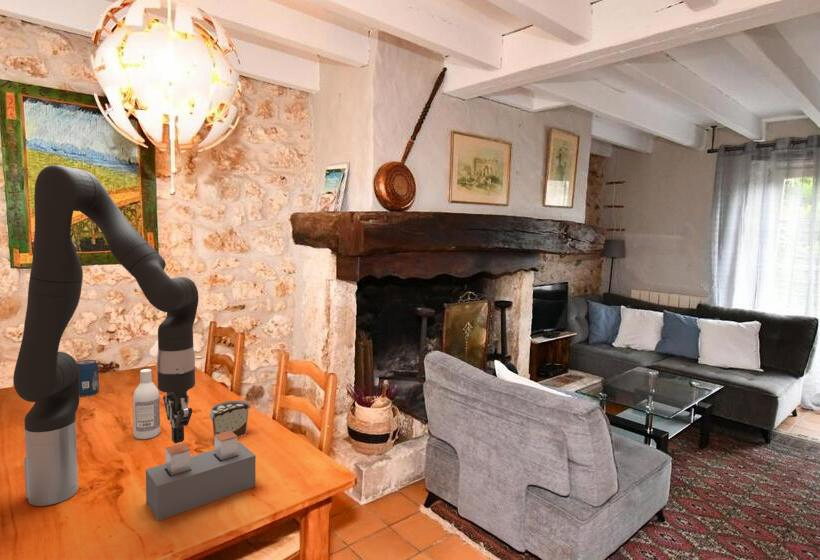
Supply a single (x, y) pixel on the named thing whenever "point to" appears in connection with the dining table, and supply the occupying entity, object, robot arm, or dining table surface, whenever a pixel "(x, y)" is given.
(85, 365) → the soda can
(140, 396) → the bath foam
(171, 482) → the guide block
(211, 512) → the dining table surface
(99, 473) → the dining table surface
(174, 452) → the peg near
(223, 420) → the half cake
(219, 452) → the peg far
